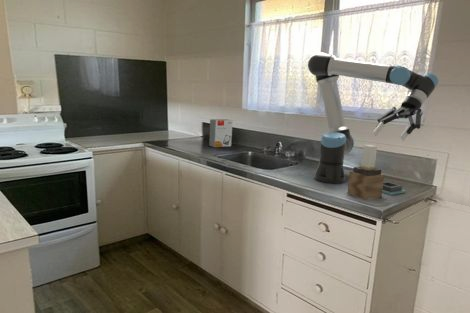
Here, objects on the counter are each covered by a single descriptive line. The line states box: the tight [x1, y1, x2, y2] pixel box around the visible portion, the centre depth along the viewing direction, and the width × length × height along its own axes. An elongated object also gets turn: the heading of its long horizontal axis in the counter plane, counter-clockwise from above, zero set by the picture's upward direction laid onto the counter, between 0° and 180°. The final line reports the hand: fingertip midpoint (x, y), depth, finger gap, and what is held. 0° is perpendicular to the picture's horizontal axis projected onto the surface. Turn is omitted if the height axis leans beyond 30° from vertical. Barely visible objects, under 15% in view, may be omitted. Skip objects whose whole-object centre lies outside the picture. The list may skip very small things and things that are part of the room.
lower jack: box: [382, 180, 406, 196], centre depth 157 cm, size 10×10×3 cm
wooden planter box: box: [347, 165, 385, 201], centre depth 149 cm, size 10×10×12 cm
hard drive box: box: [208, 118, 234, 148], centre depth 255 cm, size 16×8×20 cm, turn 125°
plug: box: [360, 144, 378, 170], centre depth 147 cm, size 4×4×12 cm
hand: (387, 136), depth 150 cm, fingers open, 13 cm apart
